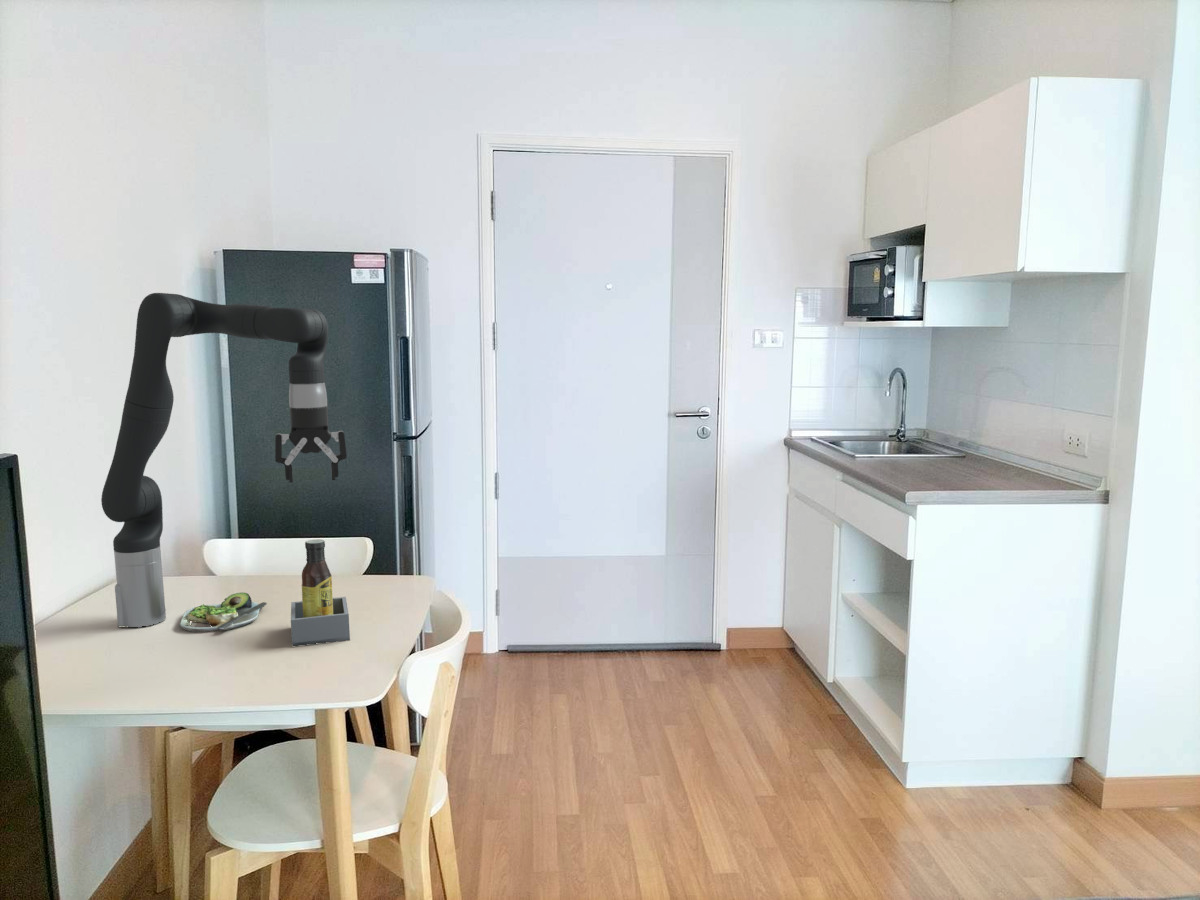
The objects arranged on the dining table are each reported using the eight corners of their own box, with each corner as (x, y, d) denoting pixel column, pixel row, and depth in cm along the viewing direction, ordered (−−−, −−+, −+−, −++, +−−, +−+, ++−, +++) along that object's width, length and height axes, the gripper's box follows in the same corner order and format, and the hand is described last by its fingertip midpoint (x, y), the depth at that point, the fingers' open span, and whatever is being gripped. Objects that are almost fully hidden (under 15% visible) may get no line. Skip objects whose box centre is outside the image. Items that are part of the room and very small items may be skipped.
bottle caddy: (292, 646, 180) (290, 620, 179) (292, 627, 192) (291, 602, 191) (349, 640, 184) (348, 614, 183) (346, 621, 196) (345, 596, 195)
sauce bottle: (328, 635, 184) (323, 545, 181) (299, 635, 184) (294, 545, 182) (338, 625, 191) (333, 537, 188) (310, 625, 191) (305, 537, 188)
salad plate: (261, 632, 190) (260, 612, 189) (172, 641, 185) (170, 620, 184) (268, 606, 208) (267, 587, 207) (187, 613, 203) (186, 594, 202)
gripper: (271, 407, 175) (276, 486, 177) (344, 405, 179) (348, 481, 182) (272, 404, 182) (277, 480, 184) (343, 402, 186) (346, 476, 189)
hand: (312, 480), depth 183 cm, fingers open, 8 cm apart
